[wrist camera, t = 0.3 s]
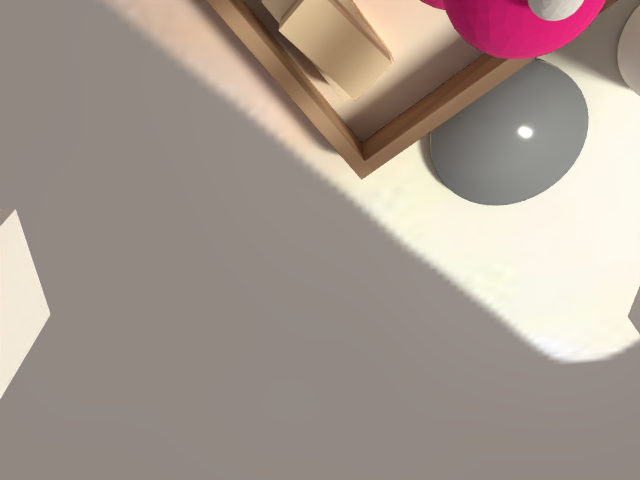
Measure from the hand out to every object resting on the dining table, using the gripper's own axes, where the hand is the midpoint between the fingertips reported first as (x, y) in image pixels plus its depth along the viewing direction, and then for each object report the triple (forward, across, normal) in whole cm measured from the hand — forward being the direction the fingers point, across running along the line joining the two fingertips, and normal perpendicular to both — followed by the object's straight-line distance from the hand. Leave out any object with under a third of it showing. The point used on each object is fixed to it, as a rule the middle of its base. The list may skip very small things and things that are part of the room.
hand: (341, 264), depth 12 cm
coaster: (+29, +13, -9) cm, 33 cm away
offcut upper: (+26, 0, -2) cm, 26 cm away
